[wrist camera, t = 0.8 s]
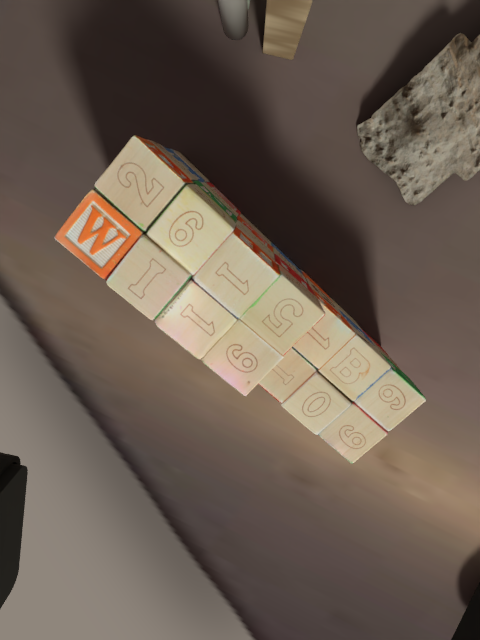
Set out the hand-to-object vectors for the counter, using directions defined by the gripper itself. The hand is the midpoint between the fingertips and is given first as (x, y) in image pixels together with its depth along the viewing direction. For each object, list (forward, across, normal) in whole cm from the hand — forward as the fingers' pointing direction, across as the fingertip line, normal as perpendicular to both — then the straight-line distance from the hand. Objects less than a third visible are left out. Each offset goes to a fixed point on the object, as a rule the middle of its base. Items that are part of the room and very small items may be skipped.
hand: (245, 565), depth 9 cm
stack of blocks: (+26, 0, 0) cm, 26 cm away
